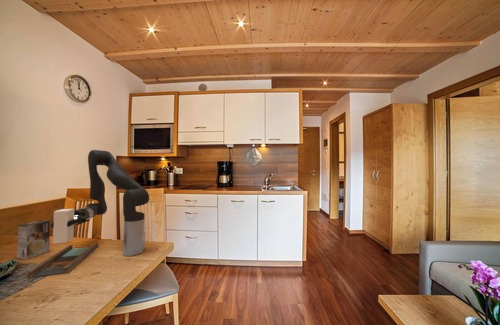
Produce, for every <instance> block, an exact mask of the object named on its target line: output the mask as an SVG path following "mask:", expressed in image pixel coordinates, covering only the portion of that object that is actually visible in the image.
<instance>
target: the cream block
mask: <svg viewBox="0 0 500 325" xmlns="http://www.w3.org/2000/svg"><path fill="white" fill-rule="evenodd" d="M74 211H75V208H61V209H57V210H54V211H53V219H54V228H53V229H52V244H55V245H56V244H64V243H68V242H70V241H72V240H73V239H74V233H75V232H74V230H75V228H74V227H75V225H72V226H70V227H67V222H68V221H71V220H73V219H74Z"/></svg>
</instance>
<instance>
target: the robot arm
mask: <svg viewBox="0 0 500 325" xmlns="http://www.w3.org/2000/svg"><path fill="white" fill-rule="evenodd" d="M87 163H88V174H89V182H90V183H89V184H90V185H89V199H90V200H94V201H97V202H95V203H92V202H91V203H88V204H85V206H84V207H80V208H77V209H74V219H73V220H71V221H68V222H67V227H70V226H72V225H74V226H79V225H82V224H84V223H87V222H89V221H90V220H91V219H92V218H94V217H96V216H102V215H105V214H106V213H107V210H108V206H107V202H106V198H105V189H106V187H105V186H106V185H105V183H104V180H103V179H102V177H101V176H100V173H99V172H98V166H104V167H107V168H108V169H107V171H106V177H107V179H108V181H110V183H111V184H112V185H114V186H115V187H117V188H119V189H122V190H124V192H123V195H122V214H123V242H122V245H123V246H122V255H123V256H125V257H132V256H137V255H141V254H143V252H144V251H145V246H146V244H145V243H146V232H145V213H144V212H141V211H138V210H137V209H136V207H140V206H144V205H147V204H148V203H149V201H150V195H149V193H148V191H147V190H146V189H145V188H144V187H143V186H142V185H140V183H138V182H137V181H136V180H135V179H134V178H133V177H132V176H130V174H129V173H128V172H127V171H126V170H125V169H124V168H123V167H122V166H121V165H120V164H119V162H117V160H116V158H115V157H114V155H113V154H112V153H111V152H110V151H109V150H108V151H107V150H99V149H91V150H89V152H88V156H87ZM52 228H54V218H53V219H52V220H51V222H50V229H52Z"/></svg>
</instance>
